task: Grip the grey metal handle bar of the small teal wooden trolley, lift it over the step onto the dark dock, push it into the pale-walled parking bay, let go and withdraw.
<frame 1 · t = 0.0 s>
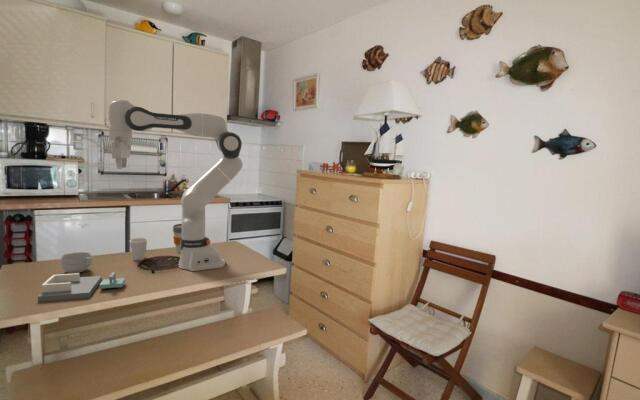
hand: (121, 168, 153), 48 cm above the table, tool pointing down, fingers open, 8 cm apart
reusable coffee cup: (184, 251, 192), on the table
trolley: (112, 287, 139), on the table
teacup: (79, 272, 153), on the table
dock: (72, 290, 134), on the table
dixie cup: (138, 258, 176), on the table
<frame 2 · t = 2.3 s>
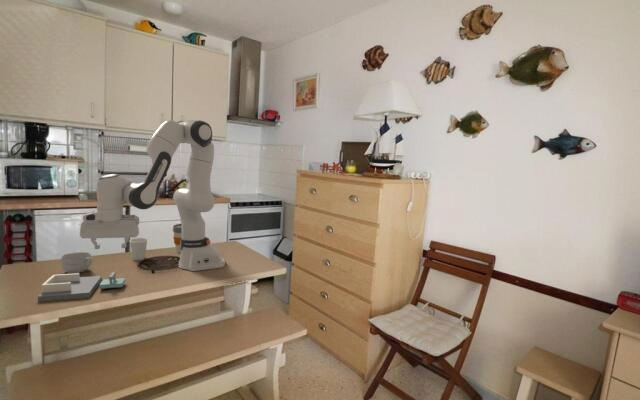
hand: (110, 248, 137), 17 cm above the table, tool pointing down, fingers open, 8 cm apart
nothing on the table moved.
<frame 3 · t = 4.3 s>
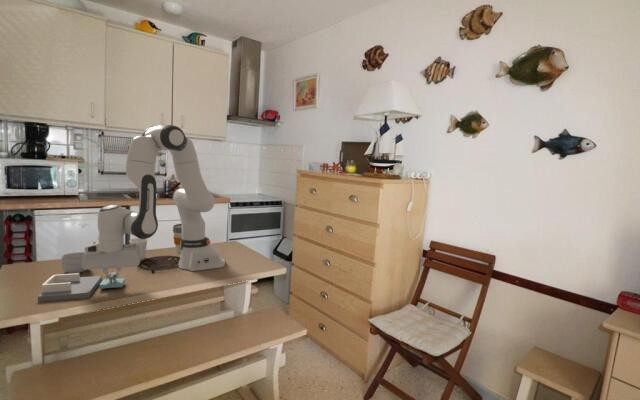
hand: (112, 277, 138), 4 cm above the table, tool pointing down, fingers closed on trolley
trolley: (112, 287, 139), on the table, touching gripper
everything else where it was.
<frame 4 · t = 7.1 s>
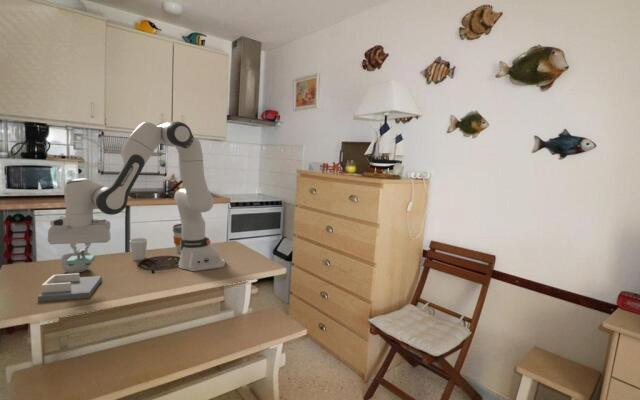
hand: (80, 253, 133), 15 cm above the table, tool pointing down, fingers closed on trolley
trolley: (81, 263, 134), point 11 cm above the table, touching gripper
everything else where it was.
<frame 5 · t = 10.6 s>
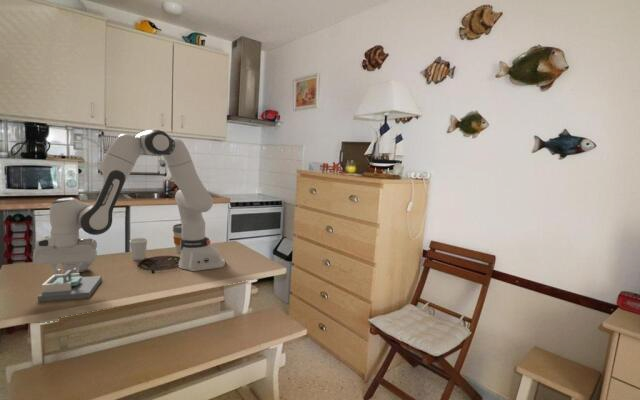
hand: (67, 273, 133), 7 cm above the table, tool pointing down, fingers open, 5 cm apart
trolley: (67, 285, 133), point 2 cm above the table, touching dock
everything else where it was.
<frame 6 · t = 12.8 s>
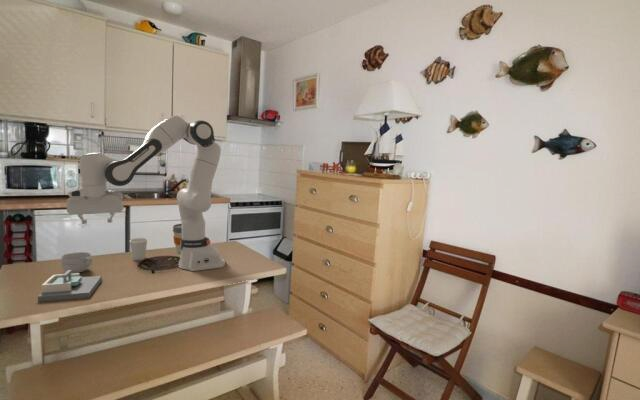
hand: (97, 222, 145), 25 cm above the table, tool pointing down, fingers open, 8 cm apart
nothing on the table moved.
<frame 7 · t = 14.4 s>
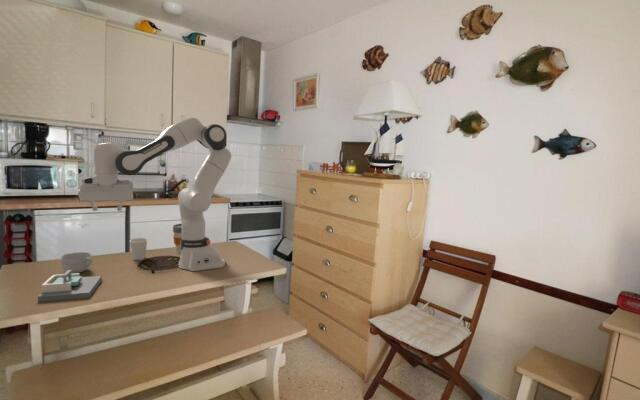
hand: (107, 210, 150), 29 cm above the table, tool pointing down, fingers open, 8 cm apart
nothing on the table moved.
at the end: trolley 1.0 cm from the target spot, point 2.0 cm above the table; trolley tilted 0°; the gripper is holding nothing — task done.
